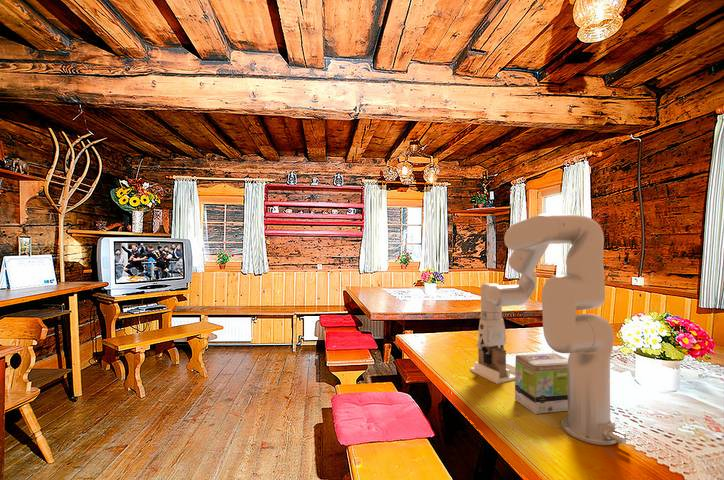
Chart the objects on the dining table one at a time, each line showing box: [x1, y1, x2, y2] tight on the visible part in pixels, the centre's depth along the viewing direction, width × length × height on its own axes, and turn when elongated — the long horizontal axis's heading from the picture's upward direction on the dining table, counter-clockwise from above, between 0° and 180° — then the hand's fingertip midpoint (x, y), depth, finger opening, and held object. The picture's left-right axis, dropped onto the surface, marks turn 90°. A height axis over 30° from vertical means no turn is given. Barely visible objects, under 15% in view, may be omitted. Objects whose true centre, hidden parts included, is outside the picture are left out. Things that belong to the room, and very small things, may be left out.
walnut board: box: [477, 344, 507, 378], centre depth 128 cm, size 11×3×10 cm, turn 23°
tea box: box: [514, 352, 568, 415], centre depth 104 cm, size 15×10×15 cm
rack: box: [469, 361, 516, 385], centre depth 129 cm, size 14×14×4 cm
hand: (491, 362), depth 128 cm, fingers open, 3 cm apart
